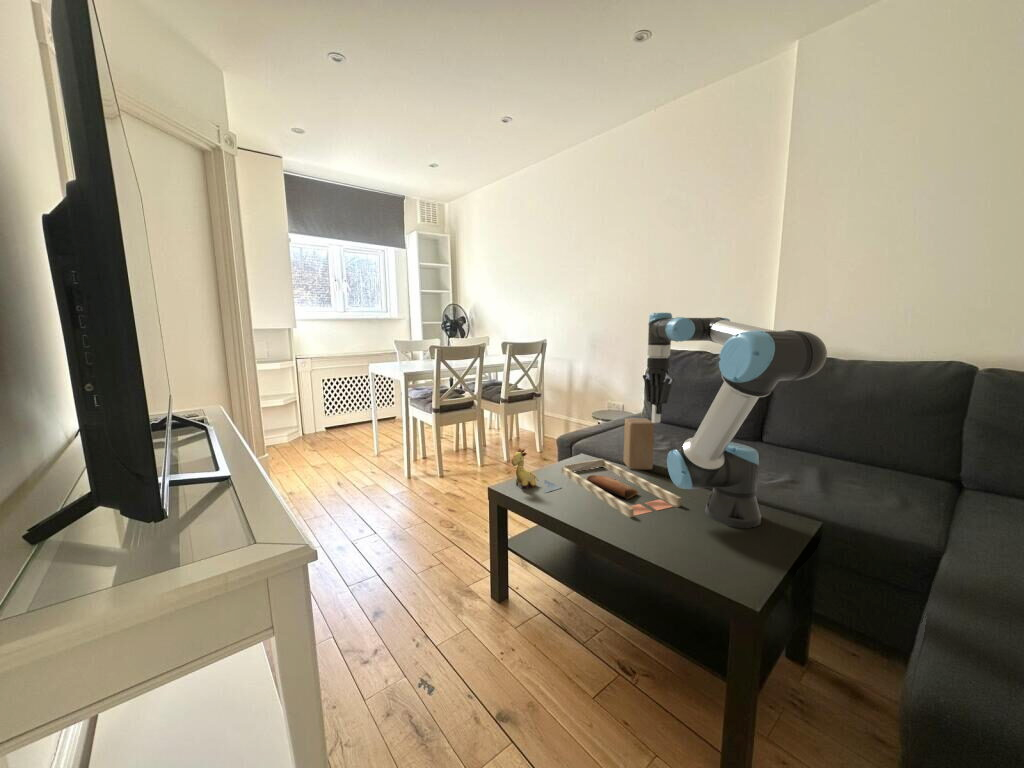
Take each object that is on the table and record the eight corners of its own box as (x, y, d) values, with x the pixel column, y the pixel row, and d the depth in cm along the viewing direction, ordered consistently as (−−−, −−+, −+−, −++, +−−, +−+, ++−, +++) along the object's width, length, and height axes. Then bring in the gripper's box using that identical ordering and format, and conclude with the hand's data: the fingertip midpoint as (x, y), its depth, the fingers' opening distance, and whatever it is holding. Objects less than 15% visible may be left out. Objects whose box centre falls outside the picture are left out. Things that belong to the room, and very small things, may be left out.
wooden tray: (680, 506, 132) (681, 494, 131) (629, 518, 124) (629, 506, 123) (604, 467, 169) (605, 458, 169) (561, 474, 161) (561, 465, 160)
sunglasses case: (640, 491, 140) (634, 478, 137) (630, 506, 138) (623, 494, 135) (600, 477, 155) (594, 465, 152) (590, 491, 152) (583, 479, 149)
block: (653, 470, 165) (655, 423, 163) (628, 470, 166) (630, 423, 163) (645, 462, 175) (647, 417, 173) (622, 462, 176) (624, 417, 173)
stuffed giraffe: (496, 488, 149) (495, 446, 146) (534, 477, 159) (534, 438, 157) (522, 503, 136) (522, 458, 134) (561, 490, 146) (562, 448, 144)
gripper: (681, 357, 137) (677, 425, 141) (653, 355, 149) (651, 417, 152) (664, 358, 134) (661, 427, 138) (637, 356, 146) (635, 419, 150)
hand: (655, 422), depth 145 cm, fingers closed
